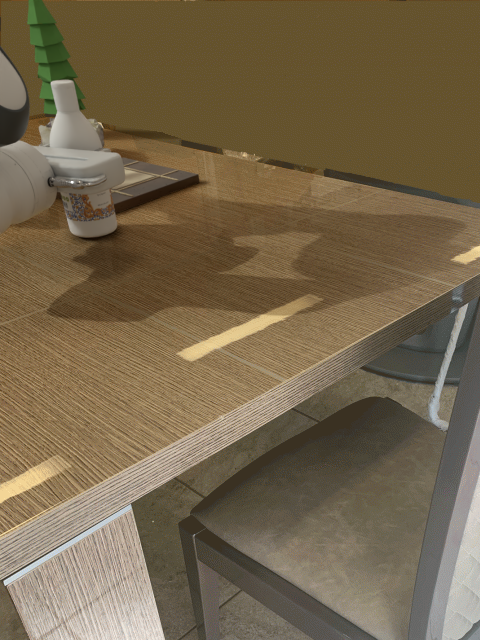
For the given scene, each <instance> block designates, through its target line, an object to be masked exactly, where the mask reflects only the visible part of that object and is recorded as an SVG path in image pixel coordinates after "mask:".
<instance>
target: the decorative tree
mask: <svg viewBox="0 0 480 640" xmlns="http://www.w3.org/2000/svg"><path fill="white" fill-rule="evenodd" d="M27 3H28V8H27V10H28V11H27V22H26V23H27V24H26V25H29V43H30V45H32V46H34V63H38V66H37V79H40V80H41V81H42V82H41V86H40V93H39V96H38V97H39V99H42V100H44V102H43V114H46V115H47V114H48V115H56V114H57V109H56V105H55V100H54V96H53V92H52V87H51V82H52V81H56V80H72V81H73V82H74V85H75V90H76V95H77V100H78V105H79V110H80V112H82V111H84V110H87V108H86V106H85V104H84V103H83V101H82V100H83V99H86V96H85V94H84V92H83V91H82V90H81V88H80V87H79V85H78V84H77V82H76V81H75V79H77V78H79V76H78V75H77V73H76V71H75V70H74V68H73V66H72V65H71V63H70V61H69V60H68V59H70V58H72V56H71V54H70V53H69V51H68V49H67V48H66V46H65V44H64V43H63V41H65V38H64V36H63V34H62V33H61V31H60V29H59V28H58V26H57V25H56V24H57V23H58V22H57V21H56V19H55V18H54V17H53V15H52V14H51V12H50V10H49V8H48V7H47V6H46V4H45V3H44V1H43V0H28V1H27Z"/></svg>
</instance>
